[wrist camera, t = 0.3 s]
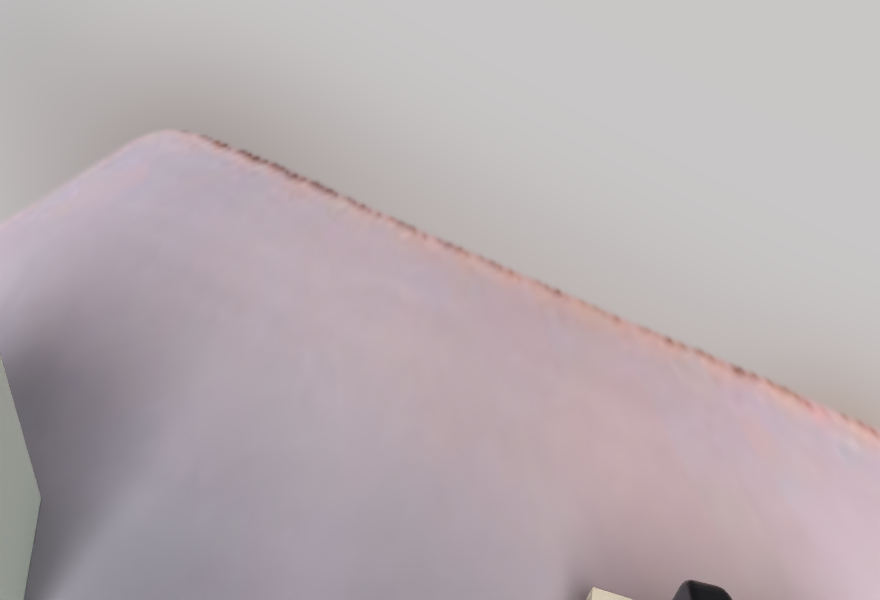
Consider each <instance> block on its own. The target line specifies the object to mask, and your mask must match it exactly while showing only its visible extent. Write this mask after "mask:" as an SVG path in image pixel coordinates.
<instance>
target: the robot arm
mask: <svg viewBox="0 0 880 600" xmlns="http://www.w3.org/2000/svg"><path fill="white" fill-rule="evenodd" d="M673 600H732V599H731V597H730V596H729V594H728V593H727V592H726V591H725V590H724V589H722V588H721V587H718V586H715V585H711V584H707V583H702V582H698V581H694V580H687V581H685V582H684V583H682V585H681V586H680V587H679V589H678V591H677V593H676V595H675V596H674V598H673Z"/></svg>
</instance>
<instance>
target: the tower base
mask: <svg viewBox="0 0 880 600" xmlns="http://www.w3.org/2000/svg"><path fill="white" fill-rule="evenodd" d="M586 600H634V599H630V598H627V597H624V596H621V595H617V594H614V593H611V592H608V591H604V590H601V589H598V588H595V587H593V588H592V589H591V591H590V593H589V595H588V596H587V598H586Z"/></svg>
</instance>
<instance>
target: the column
mask: <svg viewBox="0 0 880 600" xmlns="http://www.w3.org/2000/svg"><path fill="white" fill-rule="evenodd" d="M40 502H41V496H40V492H39V489H38V485H37V482H36V478H35V475H34V471H33V468H32V464H31V461H30V457H29V454H28V450H27V446H26V443H25V439H24V436H23V432H22V429H21V425H20V422H19V418H18V415H17V411H16V408H15V404H14V401H13V397H12V394H11V390H10V387H9V383H8V380H7V376H6V373H5V369H4V366H3V362H2V359H1V355H0V600H24V595H25V589H26V584H27V578H28V572H29V566H30V560H31V554H32V549H33V543H34V537H35V531H36V525H37V519H38V513H39V508H40Z"/></svg>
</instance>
